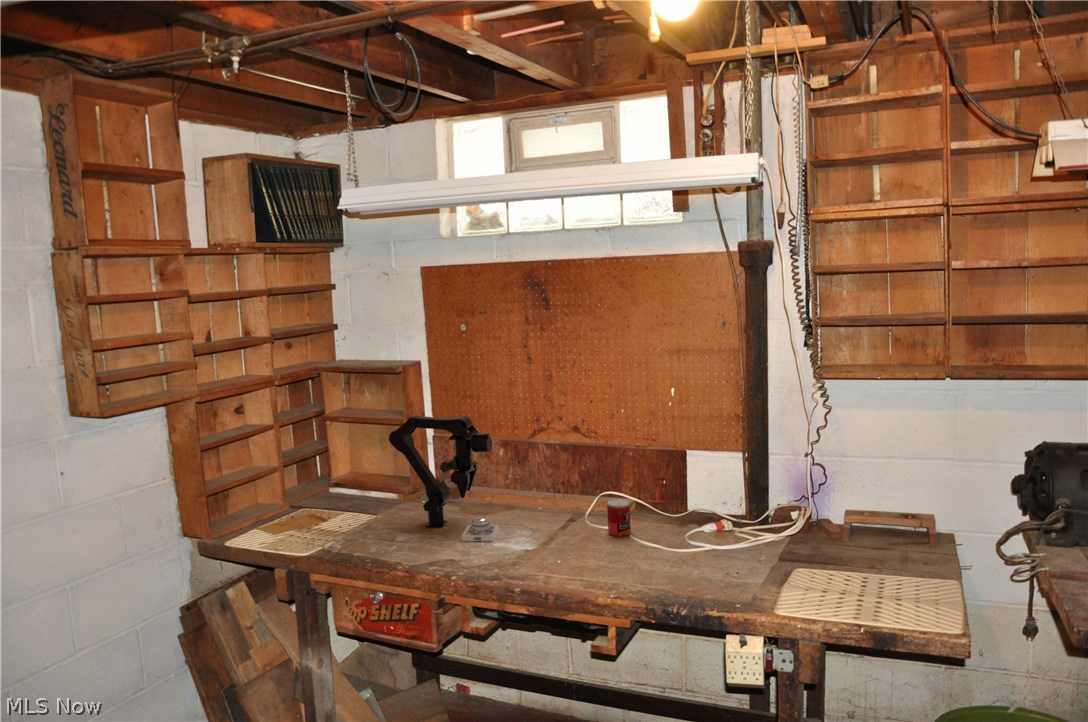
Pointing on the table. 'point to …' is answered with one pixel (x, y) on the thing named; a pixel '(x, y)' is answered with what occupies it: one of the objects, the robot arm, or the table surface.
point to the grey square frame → (480, 537)
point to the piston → (480, 526)
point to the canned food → (618, 517)
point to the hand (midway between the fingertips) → (465, 494)
